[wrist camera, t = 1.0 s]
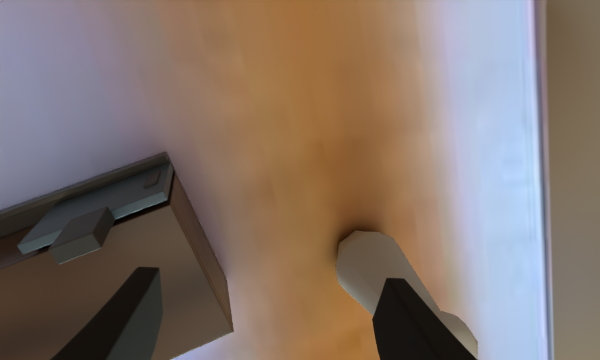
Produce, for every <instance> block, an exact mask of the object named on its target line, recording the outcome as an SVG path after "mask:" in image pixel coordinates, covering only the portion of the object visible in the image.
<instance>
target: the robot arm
mask: <svg viewBox="0 0 600 360" xmlns="http://www.w3.org/2000/svg"><path fill="white" fill-rule="evenodd" d="M162 317H163V304H162V291H161V279H160V268H159V267H138V268H136V269H135V270H134V271H133V273H132V274H131V275H130V276H129V277H128V279H127V280H126V281H125V282H124V283H123V284H122V286H121V287H120V288H119V289H118V290H117V291H116V293H115V294H114V295H113V296H112V297H111V298H110V299H109V300H108V302H107V303H106V304H105V305H104V306H103V307H102V308H101V309H100V310H99V311H98V312H97V313H96V314H95V316H94V317H93V318H92V319H91V320H90V321H89V322H88V323H87V324H86V325H85V326H84V327H83V328H82V329H81V330H80V331H79V332H78V333H77V334H76V335H75V336H74V337H73V338H72V339H71V340H70V341H69V342H68V343H67V344H66V345H65V346H64V347H63V348H62V349H61V350H60V351H59V352H58V353H57V354H56V355H54V356H53V357H52V358H51V359H50V360H151V358H152V355H153V352H154V349H155V346H156V342H157V338H158V334H159V330H160V326H161V321H162ZM372 321H373V327H374V333H375V339H376V344H377V349H378V353H379V356H380V360H477V359H476V358H475V357H474V356H473V355H472V354H471V353H470V352H469V351H468V350H467V349H466V348H465V347H464V345H463V344H462V343H461V342H460V341H459V340H458V339H457V338H456V337H455V336H454V335H453V334H452V333H451V332H450V330H449V329H448V328H447V327H446V326H445V325H444V324H443V323H442V322H441V320H440V319H439V318H438V317H437V316H436V315H435V314H434V312H433V311H432V310H431V309H430V308H429V307H428V306H427V304H426V303H425V302H424V301H423V300H422V298H421V297H420V296H419V295H418V294H417V293H416V291H415V290H414V289H413V288H412V287H411V286H410V284H409V283H408V282H407V281H406V280H405V279H404V278H386V281H385V284H384V287H383V290H382V293H381V295H380V298H379V301H378V304H377V307H376V310H375V313H374V316H373V319H372Z"/></svg>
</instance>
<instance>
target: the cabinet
mask: <svg viewBox="0 0 600 360" xmlns="http://www.w3.org/2000/svg"><path fill="white" fill-rule="evenodd" d="M166 163H171V161H170V159H169V157H168V154H167V152H163V153H161V154H158V155H155V156H152V157H149V158H147V159H144V160H141V161H138V162H135V163H133V164H130V165H127V166H124V167H121V168H119V169H116V170H113V171H110V172H108V173H105V174H102V175H99V176H96V177H94V178H91V179H88V180H85V181H82V182H80V183H77V184H74V185H71V186H68V187H66V188H63V189H60V190H57V191H54V192H52V193H49V194H46V195H43V196H40V197H38V198H35V199H32V200H29V201H27V202H24V203H21V204H18V205H15V206H13V207H10V208H7V209H4V210H1V211H0V360H50V359H51V358H52V357H53V356H54V355H56V354H57V353H58V352H59V351H60V350H61V349H62V348H63V347H64V346H65V345H66V344H67V343H68V342H69V341H70V340H71V339H72V338H73V337H74V336H75V335H76V334H77V333H78V332H79V331H80V330H81V329H82V328H83V327H84V326H85V325H86V324H87V323H88V322H89V321H90V320H91V319H92V318H93V317H94V316H95V314H96V313H97V312H98V311H99V310H100V309H101V308H102V307H103V306H104V305H105V304H106V303H107V302H108V300H109V299H110V298H111V297H112V296H113V295H114V294H115V293H116V291H117V290H118V289H119V288H120V287H121V286H122V284H123V283H124V282H125V281H126V280H127V279H128V277H129V276H130V275H131V274H132V273H133V271H134V270H135V269H136V268H138V267H159V268H160V279H161V291H162V304H163V317H162V321H161V326H160V330H159V334H158V338H157V342H156V346H155V349H154V352H153V355H152V358H151V360H171V359H173V358H176V357H178V356H180V355H182V354H185V353H187V352H189V351H191V350H194V349H196V348H198V347H201V346H203V345H205V344H207V343H210V342H212V341H214V340H216V339H219V338H221V337H223V336H226V335H228V334H230V333H232V332H234V330H233V323H232V315H231V308H230V300H229V293H228V286H227V280H226V277H225V275H224V273H223V271H222V269H221V267H220V265H219V263H218V261H217V258H216V256H215V254H214V252H213V250H212V248H211V246H210V244H209V241H208V239H207V237H206V235H205V233H204V231H203V229H202V227H201V224H200V222H199V220H198V218H197V216H196V214H195V212H194V210H193V207H192V205H191V203H190V201H189V199H188V197H187V195H186V193H185V190H184V188H183V186H182V184H181V182H180V180H179V178H178V176H177V174H176V171H175V169H174V167H173V165H172V163H171V165H172V167H173V174H172V179H171V184H170V189H169V195H168V199H167V200H166V201H163V202H160V203H158V204H155V205H152V206H150V207H147V208H144V209H142V210H139V211H136V212H134V213H131V214H128V215H126V216H123V217H121V218H118V219H115V221H114V223H113V225H112V227H111V229H110V231H109V234H108V236H107V238H106V240H105V242H104V244H103V246H102V248H100V249H98V250H95V251H93V252H90V253H87V254H85V255H82V256H80V257H77V258H75V259H72V260H69V261H67V262H64V263H62V264H58V263H57V262H56V260H55V259H54V258H53V256H52V255H51V253H50V252H49V250H48V249H49V248H50V246H51V245H52V244H53V243H52V244H49V245H46V246H44V247H41V248H38V249H36V250H33V251H30V252H28V253H25V254H22V252H21V251H20V250H19V248H18V247H17V245H18V244H19V243H20V242H21V240H22V239H23V238H24V237H25V236H26V235H27V234H28V233H29V232H30V231H31V230H32V229H33V228H34V226H35V225H36V224H37V223H38V222H39V221H40V220H41V219H42V218H43V217H44V216H45V215H46V213H47V212H48V211H49V210H50V209H51V208H52V207H53V206H54V205H55V204H56V203H59V202H62V201H64V200H67V199H70V198H73V197H75V196H78V195H81V194H84V193H86V192H89V191H92V190H95V189H97V188H100V187H103V186H106V185H108V184H111V183H114V182H117V181H119V180H122V179H125V178H128V177H130V176H133V175H136V174H139V173H141V172H144V171H147V170H150V169H152V168H155V167H158V166H161V165H164V164H166Z"/></svg>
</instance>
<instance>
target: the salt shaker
mask: <svg viewBox="0 0 600 360" xmlns="http://www.w3.org/2000/svg"><path fill="white" fill-rule="evenodd" d="M336 273H337V279H338V282H339V284H340V285H341V286H342V287H343V288H344V289H345V290H346V291H347V292H348V293H349V294H350V295H351V296H352V297H353V298H354V299H355V300H357V301H358V302H359V303H360V304H361V305H362V306H363V307H364V308H365V309H366V310H368V311H369V312H370V313H371V314H372V315H373V316H374V313H375V310H376V307H377V304H378V301H379V298H380V295H381V293H382V290H383V287H384V284H385V281H386V278H404V279H405V280H406V281H407V282H408V283H409V284H410V286H411V287H412V288H413V289H414V290H415V291H416V293H417V294H418V295H419V296H420V297H421V298H422V300H423V301H424V302H425V303H426V304H427V306H428V307H429V308H430V309H431V310H432V311H433V312H434V314H435V315H436V316H437V317H438V318H439V319H440V320H441V322H442V323H443V324H444V325H445V326H446V327H447V328H448V329H449V330H450V332H451V333H452V334H453V335H454V336H455V337H456V338H457V339H458V340H459V341H460V342H461V343H462V344H463V345H464V347H465V348H466V349H467V350H468V351H469V352H470V353H471V354H472V355H473V356H474V357H475V358H476V359H477V356H478V342H477V340H476V339H475V337H474V336H473V334H472V333H471V331H470V330H469V328H468V327H467V325H466V324H465V323H464V322H463V321H462V320H461V319H460V318H459V317H457V316H455V315H453V314H450V313H447V312H443V311H440V309H439V308H438V306H437V305H436V303H435V302H434V300H433V298H432V297H431V295H430V294H429V292H428V291H427V289H426V288H425V286H424V285H423V283H422V282H421V280H420V279H419V277H418V275H417V274H416V272H415V271H414V269H413V268H412V266H411V265H410V263H409V262H408V260H407V258H406V257H405V255H404V253H403V252H402V250H401V249H400V247H399V246H398V244H397V243H396V241H395V240H394V239H393V238H392V237H390V236H388V235H385V234H383V233H380V232H364V231H357V230H355V231H354V232H353V233H351V234H350V235H349V236H348V237H347V238H345V239H344V240H343V241H342V242H340V243H339V250H338V256H337V261H336Z"/></svg>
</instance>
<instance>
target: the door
mask: <svg viewBox="0 0 600 360" xmlns="http://www.w3.org/2000/svg"><path fill="white" fill-rule="evenodd" d="M172 174H173V167H172V165H171V163H166V164H164V165H161V166H158V167H155V168H152V169H150V170H147V171H144V172H141V173H139V174H136V175H133V176H130V177H128V178H125V179H122V180H119V181H117V182H114V183H111V184H108V185H106V186H103V187H100V188H97V189H95V190H92V191H89V192H86V193H84V194H81V195H78V196H75V197H73V198H70V199H67V200H64V201H62V202H59V203H56V204H55V205H54V206H53V207H52V208H51V209H50V210H49V211H48V212H47V213H46V215H45V216H44V217H43V218H42V219H41V220H40V221H39V222H38V223H37V224H36V225H35V226H34V228H33V229H32V230H31V231H30V232H29V233H28V234H27V235H26V236H25V237H24V238H23V239H22V240H21V242H20V243H19V244H18V245H17V247H18V248H19V250H20V251H21V252H22V254H25V253H28V252H30V251H33V250H36V249H38V248H41V247H44V246H46V245H49V244H52V243H53V244H52V245H51V246H50V248H49V249H48V250H49V252H50V253H51V255H52V256H53V258H54V259H55V260H56V262H57V263H58V264H62V263H64V262H67V261H69V260H72V259H75V258H77V257H80V256H82V255H85V254H87V253H90V252H93V251H95V250H98V249H100V248H102V246H103V244H104V242H105V240H106V238H107V236H108V234H109V231H110V229H111V227H112V225H113V223H114V221H115V219H118V218H121V217H123V216H126V215H128V214H131V213H134V212H136V211H139V210H142V209H144V208H147V207H150V206H152V205H155V204H158V203H160V202H163V201H166V200H167V199H168V195H169V189H170V184H171V179H172Z"/></svg>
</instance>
